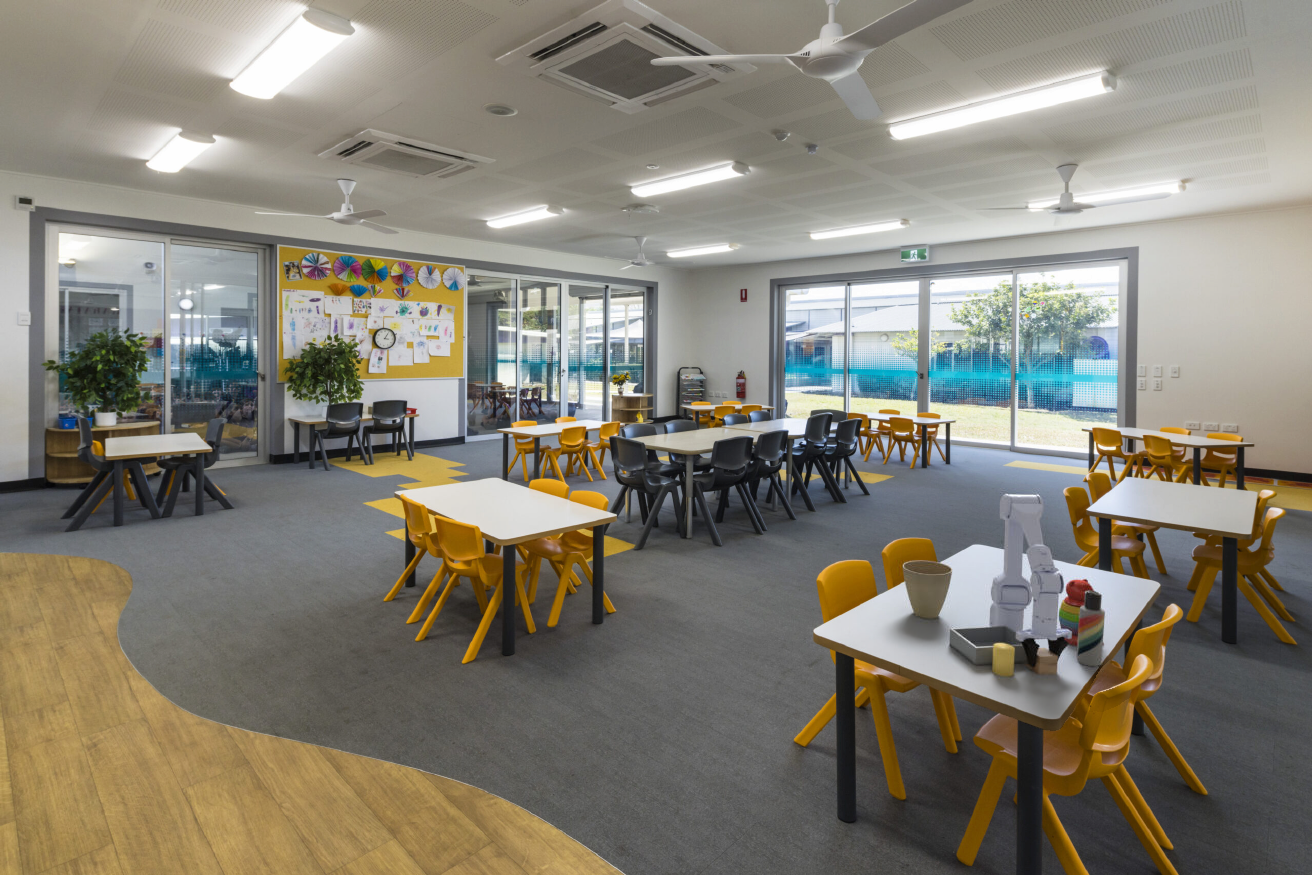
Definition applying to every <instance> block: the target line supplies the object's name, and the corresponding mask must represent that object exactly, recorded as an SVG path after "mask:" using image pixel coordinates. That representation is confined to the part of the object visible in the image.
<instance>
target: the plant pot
mask: <svg viewBox="0 0 1312 875" xmlns="http://www.w3.org/2000/svg"><path fill="white" fill-rule="evenodd" d="M902 571H903V572H902V573H903V579H904V584H905V589H906V591H907V596H908V600H909V603H910V606H911V609H912V611H913V614H914V615H915V616H916V615H917V616H916V617H919V618H922V619H928V620H929V619H930V620H932V619H937V618H938V617H939V615H940V614H941V611H942V608H943V607H944V605H945V604H944V603H945V601H946V598H947V595H948V592H949V589H950V585H951V579H952V575H953V568H952V567H951V566H949V565H948V564H945V563H942V562H938V561H937V562H936V561H933V560H931V561H930V560H910V561H906V562H904V563H903V564H902Z"/></svg>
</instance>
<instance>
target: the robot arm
mask: <svg viewBox="0 0 1312 875" xmlns="http://www.w3.org/2000/svg"><path fill="white" fill-rule="evenodd" d="M1043 511H1044V500H1043V498H1042V497H1041V496H1040V495H1039V494H1008V493H1004V494H1003V495H1002V496H1001V498H1000V501H999V519H1001V520H1002V521H1003V520H1004V545H1003V546H1004V550H1003V554H1004V555H1003V571H1002V572H1001V573H1000V574H998V575H996V576H995V577H993V579H992V585H991V587H990V596H991V600H992V602H993V603H991V605H990V607H989V620H988V621H989V622H988V623H989V624H988V625H986V627H988V626H1007V627H1009V628H1011V629H1012V630H1014V631H1015V632H1016V639H1017V640H1019V641H1020V642H1021V643H1022V645H1023V648H1024V650H1025V653H1026V657H1027V662H1028V664H1029V665H1030V666H1032V667H1035V665H1036V656H1037V652H1038V649H1039V648H1041V647H1040V645H1039V644H1038V643H1037V641H1036V640H1047V646H1048V650H1050V651H1051V652H1053V653H1054V654H1056V655H1057V656H1058V660H1059V659H1060V656H1061V655H1062V653H1063V651H1065V649H1066V648H1067V647H1068V645H1069V643H1068V641H1066V640H1065V638H1067V639H1071V638H1072V632H1071V631H1070V630H1068V629H1060V628H1058V617H1059V597H1060V595H1061V594H1062V593H1063V592H1064V588H1065V581H1064V577H1063V574H1062V572H1060V571H1059V569H1058V568H1057V567H1056V566H1055V563H1054V560H1053V555H1052V552H1051V549H1050V547H1048V546H1047V545H1044V540H1043V532H1042V528H1041V527H1042V526H1041V523H1040V520H1041V518H1042V516H1043ZM1024 536H1025V538H1026V542H1027V545H1028V548H1027V549H1026V552H1025V553H1026V557H1027V560H1028V564H1029V568H1030V572H1031V575H1030V579H1029V580H1028V579H1027V578H1026V577H1025V576H1023V556H1024V555H1023V554H1024V553H1023V551H1024ZM1032 599H1033V600H1032ZM1031 603H1032V613H1031V614H1032V615H1031V618H1032V620H1031V628H1027V629H1024V619H1025V617H1024V616H1025V609H1027V607H1028V606H1030V604H1031Z"/></svg>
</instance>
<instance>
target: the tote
mask: <svg viewBox="0 0 1312 875" xmlns="http://www.w3.org/2000/svg"><path fill="white" fill-rule="evenodd" d="M987 626H988V627H987ZM987 626H974V627H971V626H970V627H957V628H956V627H955V628H953V627H951V628H949V646H950V647H951V648H953V649H954V650H955V651H957V653H959V654H960V655H961V656H962V657H963V658H965V659H967V660H968V661H969V662H970V663H972V664H973V665H974V666H990V665H992V666H993V646H994V644H995V643H1005V644H1009V645H1011V646H1013V647H1014V648H1015V654H1014V664H1021V663H1022V664H1024V663H1026V664H1027V657H1026V653H1025V650H1024V648H1023V645H1022V643H1021V642H1020V641H1019V640H1017V639H1016V632H1015V631H1014V630H1012V629H1011V628H1009V627H1007V626H989V625H987Z"/></svg>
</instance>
